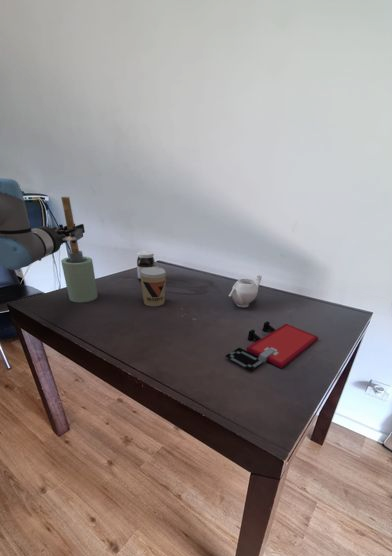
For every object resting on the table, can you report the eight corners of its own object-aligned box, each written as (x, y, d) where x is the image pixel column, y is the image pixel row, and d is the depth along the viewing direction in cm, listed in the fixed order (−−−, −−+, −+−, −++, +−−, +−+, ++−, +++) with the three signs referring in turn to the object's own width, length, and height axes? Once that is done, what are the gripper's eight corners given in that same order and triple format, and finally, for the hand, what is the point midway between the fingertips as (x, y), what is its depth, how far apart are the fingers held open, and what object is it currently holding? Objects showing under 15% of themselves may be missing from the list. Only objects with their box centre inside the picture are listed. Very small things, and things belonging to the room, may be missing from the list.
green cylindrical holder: (63, 300, 104) (55, 262, 97) (78, 290, 113) (71, 255, 105) (89, 303, 103) (82, 265, 95) (102, 293, 111) (97, 257, 104)
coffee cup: (143, 308, 102) (141, 275, 95) (140, 298, 109) (138, 267, 103) (168, 306, 104) (168, 274, 98) (164, 296, 112) (163, 266, 105)
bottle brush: (70, 273, 101) (54, 197, 88) (76, 269, 105) (62, 196, 92) (81, 274, 100) (67, 198, 87) (87, 270, 104) (75, 196, 91)
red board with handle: (219, 355, 77) (266, 382, 69) (220, 347, 76) (268, 373, 68) (275, 323, 96) (317, 340, 88) (276, 315, 95) (319, 333, 87)
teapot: (216, 308, 104) (218, 284, 99) (246, 294, 117) (250, 272, 112) (238, 316, 99) (241, 291, 94) (267, 301, 112) (271, 278, 107)
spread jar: (139, 275, 132) (137, 249, 125) (163, 276, 132) (163, 250, 126) (136, 284, 122) (134, 256, 115) (162, 285, 122) (162, 257, 116)
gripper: (19, 254, 82) (60, 237, 102) (70, 257, 81) (101, 240, 101) (11, 226, 78) (55, 214, 98) (65, 229, 77) (98, 217, 97)
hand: (78, 227), depth 100 cm, fingers closed on bottle brush, 2 cm apart
